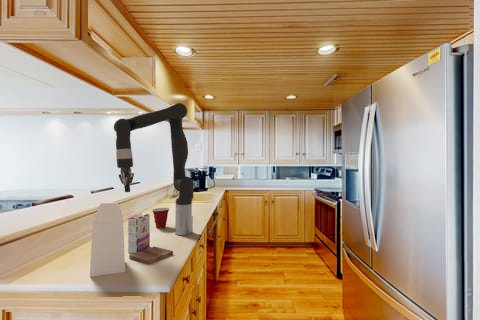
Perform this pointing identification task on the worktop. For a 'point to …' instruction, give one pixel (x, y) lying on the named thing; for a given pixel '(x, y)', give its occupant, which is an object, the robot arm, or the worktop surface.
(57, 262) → the worktop surface
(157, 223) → the plastic cup
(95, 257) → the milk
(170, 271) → the worktop surface
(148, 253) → the board
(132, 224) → the candy bar box
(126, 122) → the robot arm
